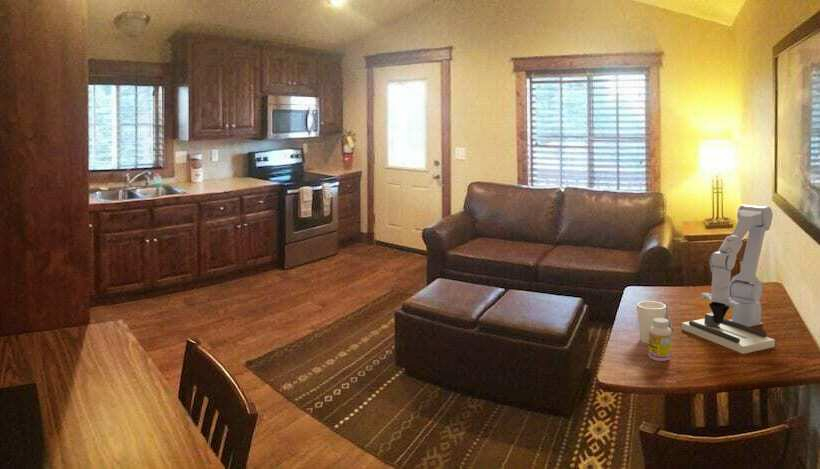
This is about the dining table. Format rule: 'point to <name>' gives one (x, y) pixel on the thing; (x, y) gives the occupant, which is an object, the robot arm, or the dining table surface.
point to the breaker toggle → (710, 320)
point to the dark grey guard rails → (727, 334)
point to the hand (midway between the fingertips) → (718, 323)
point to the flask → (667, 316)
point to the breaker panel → (747, 339)
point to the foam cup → (648, 316)
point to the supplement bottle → (660, 340)
